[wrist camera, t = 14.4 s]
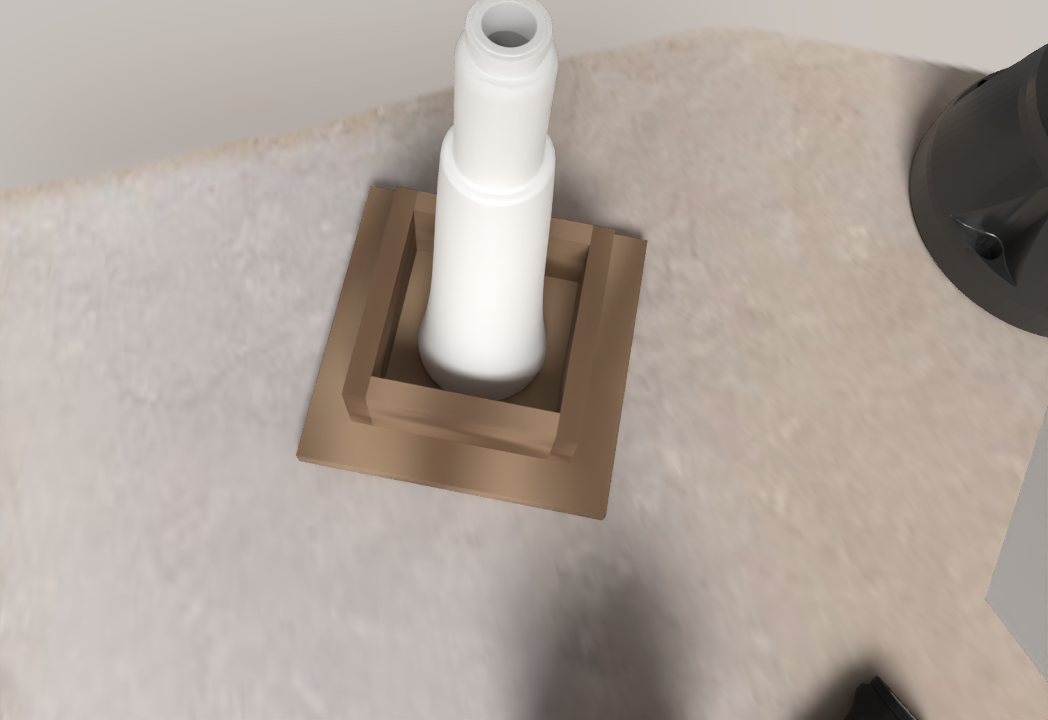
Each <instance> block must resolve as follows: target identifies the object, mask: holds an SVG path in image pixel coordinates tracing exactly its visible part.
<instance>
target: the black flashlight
mask: <svg viewBox="0 0 1048 720" xmlns="http://www.w3.org/2000/svg"><path fill="white" fill-rule="evenodd" d="M871 683H872V685H871V684H864V683H861V685H860V686H859V687H858V688H857V690H856V693H855V699H854V703H853V707H852V709H851V711H850V713H849V714H848V715H847V716H846V718H845V719H844V720H917V719H916V717H915V716H914V715H913V714H912V713H911V712H910V711H909V710H908V709H907V708H906V706H905V705H904V704H903V703H902V702H901V701H900V700H899V699H898V697H897V696H896V695H895V694H894V693H893V692H892V691H891V690H890V689H889V687H888V686H887V685H886V684H885V683H884V682H883V681H882V680H881V678H880V677H878V676H876V677H875V678H874V679H873V680H872V681H871ZM882 698H883V699H882ZM885 702H886V703H885ZM889 707H890V708H889ZM894 713H895V714H894Z"/></svg>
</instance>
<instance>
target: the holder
mask: <svg viewBox="0 0 1048 720" xmlns="http://www.w3.org/2000/svg"><path fill="white" fill-rule="evenodd" d="M436 199H437V194H433V193H428V192H422V191H417V190H412V189H407V188H402V187H396V191H394V190H389V189H384V188H379V187H374V186H371V187H370V191H369V194H368V198H367V201H366V205H365V209H364V212H363V216H362V219H361V223H360V227H359V230H358V234H357V238H356V241H355V245H354V248H353V252H352V256H351V259H350V263H349V266H348V270H347V274H346V277H345V281H344V284H343V288H342V292H341V295H340V299H339V302H338V306H337V310H336V313H335V317H334V320H333V324H332V328H331V331H330V335H329V338H328V342H327V346H326V349H325V353H324V356H323V360H322V364H321V367H320V371H319V374H318V378H317V382H316V385H315V389H314V392H313V396H312V400H311V403H310V407H309V410H308V414H307V418H306V421H305V425H304V428H303V432H302V436H301V439H300V443H299V446H298V450H297V454H296V456H297V458H298V459H299V461H304V462H309V463H314V464H319V465H324V466H329V467H334V468H339V469H344V470H349V471H354V472H360V473H365V474H370V475H375V476H380V477H385V478H390V479H395V480H400V481H405V482H411V483H416V484H421V485H426V486H431V487H436V488H441V489H446V490H451V491H456V492H461V493H467V494H472V495H477V496H482V497H487V498H492V499H497V500H502V501H507V502H512V503H518V504H523V505H528V506H533V507H538V508H543V509H548V510H553V511H558V512H563V513H568V514H574V515H579V516H584V517H589V518H594V519H599V520H603V518H604V517H605V516H606V510H607V503H608V496H609V490H610V483H611V477H612V470H613V464H614V457H615V451H616V444H617V437H618V431H619V424H620V418H621V411H622V405H623V398H624V391H625V385H626V378H627V372H628V365H629V359H630V352H631V346H632V339H633V332H634V326H635V319H636V313H637V306H638V300H639V293H640V286H641V280H642V273H643V267H644V260H645V254H646V247H647V240H642V239H637V238H632V237H627V236H622V235H617V234H615V229H610V228H605V227H600V226H595V225H590V224H585V223H579V222H574V221H569V220H564V219H559V218H554V217H551V221H550V230H549V239H548V247H547V256H546V265H545V275H544V287H543V318H544V324H545V328H546V333H547V352H546V356H545V360H544V362H543V365H542V367H541V369H540V371H539V373H538V374H537V375H536V377H535V378H534V379H533V380H532V381H531V383H530V384H529V385H527V386H526V387H525V388H524V389H522V390H521V391H519V392H518V393H516V394H514V395H512V396H510V397H508V398H505V399H502V400H497V401H495V400H490V399H485V398H479V397H474V396H469V395H464V394H459V393H454V392H449V391H446V390H444V389H443V388H441V387H440V386H439V385H438V384H437V383H436V382H435V381H434V380H433V379H432V378H431V377H430V375H429V374H428V372H427V371H426V369H425V367H424V365H423V363H422V360H421V357H420V353H419V348H418V334H419V328H420V324H421V321H422V319H423V316H424V314H425V311H426V308H427V305H428V300H429V295H430V289H431V280H432V269H433V254H434V235H435V215H436Z"/></svg>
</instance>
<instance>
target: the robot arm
mask: <svg viewBox="0 0 1048 720" xmlns="http://www.w3.org/2000/svg"><path fill="white" fill-rule="evenodd" d="M910 194H911V203H912V209H913V213H914V217H915V220H916V223H917V226H918V229H919V232H920V234H921V236H922V239H923V241H924V243H925V245H926V247H927V249H928V250H929V252H930V254H931V255H932V257H933V258H934V260H935V261H936V263H937V264H938V266H939V267H940V268H941V270H942V271H943V272H944V273H945V275H946V276H947V277H948V278H949V279H950V280H951V281H952V283H953V284H954V285H955V286H956V287H957V288H958V289H959V290H960V291H961V292H963V293H964V294H965V295H966V296H967V297H968V298H969V299H971V300H972V301H973V302H975V303H976V304H977V305H978V306H980V307H981V308H983V309H984V310H986V311H987V312H989V313H990V314H992V315H994V316H995V317H997V318H999V319H1001V320H1003V321H1004V322H1006V323H1008V324H1011V325H1013V326H1015V327H1017V328H1020V329H1022V330H1025V331H1028V332H1030V333H1034V334H1037V335H1040V336H1045V337H1048V44H1046V45H1044V46H1043V47H1041V48H1039V49H1038V50H1036V51H1034V52H1033V53H1031V54H1029V55H1028V56H1026V57H1025V58H1024V59H1022V60H1021V61H1019V62H1017V63H1016V64H1014V65H1012V66H1011V67H1009V68H1006V69H1003V70H1000V71H997V72H995V73H993V74H990V75H988V76H986V77H984V78H983V79H981V80H979V81H977V82H975V83H974V84H972V85H971V86H969V87H968V88H967V89H965V90H964V91H963V92H962V93H960V94H959V95H958V96H957V97H956V98H955V99H954V100H953V101H952V102H951V103H950V104H949V105H948V106H947V107H946V108H945V110H944V111H943V112H942V113H941V114H940V116H939V117H938V118H937V119H936V120H935V122H934V123H933V124H932V125H931V126H930V128H929V129H928V130H927V132H926V133H925V135H924V136H923V138H922V140H921V142H920V144H919V146H918V148H917V151H916V153H915V156H914V160H913V164H912V169H911V178H910ZM985 600H986V601H987V603H988V604H989V605H990V607H991V608H992V609H993V611H994V612H995V613H996V615H997V616H998V617H999V619H1000V620H1001V621H1002V622H1003V624H1004V625H1005V626H1006V628H1007V629H1008V630H1009V632H1010V633H1011V634H1012V636H1013V637H1014V638H1015V640H1016V641H1017V642H1018V644H1019V645H1020V646H1021V648H1022V649H1023V650H1024V652H1025V653H1026V654H1027V656H1028V657H1029V658H1030V660H1031V661H1032V662H1033V664H1034V665H1035V666H1036V668H1037V669H1038V670H1039V672H1040V673H1041V674H1042V675H1043V677H1044V678H1045V679H1046V681H1047V682H1048V407H1047V411H1046V414H1045V417H1044V420H1043V423H1042V426H1041V429H1040V432H1039V435H1038V438H1037V441H1036V444H1035V447H1034V450H1033V454H1032V457H1031V460H1030V463H1029V466H1028V469H1027V472H1026V475H1025V478H1024V481H1023V484H1022V487H1021V490H1020V493H1019V496H1018V500H1017V503H1016V506H1015V509H1014V512H1013V515H1012V518H1011V521H1010V524H1009V527H1008V530H1007V533H1006V536H1005V539H1004V543H1003V546H1002V549H1001V552H1000V555H999V558H998V561H997V564H996V567H995V570H994V573H993V576H992V579H991V582H990V585H989V589H988V592H987V595H986V598H985Z"/></svg>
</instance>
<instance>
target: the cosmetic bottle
mask: <svg viewBox="0 0 1048 720" xmlns="http://www.w3.org/2000/svg"><path fill="white" fill-rule="evenodd" d="M552 33H553V24H552V20H551V17H550V15H549V13H548V11H547V10H546V9H545V7H544V6H543V5H542V4H541V3H540V2H539V1H537V0H477V1H476V2H475V3H474V4H473V5H472V7H471V8H470V10H469V11H468V13H467V16H466V20H465V29H464V31H463V32H462V33H461V35H460V37H459V39H458V41H457V44H456V47H455V52H454V124H453V125H452V126H451V127H450V129H449V130H448V132H447V133H446V135H445V137H444V140H443V142H442V146H441V153H440V163H439V174H438V184H437V199H436V215H435V235H434V254H433V269H432V280H431V289H430V295H429V300H428V305H427V308H426V311H425V314H424V316H423V319H422V321H421V324H420V328H419V334H418V348H419V353H420V357H421V360H422V363H423V365H424V367H425V369H426V371H427V372H428V374H429V375H430V377H431V378H432V379H433V380H434V381H435V382H436V383H437V384H438V385H439V386H440V387H441V388H443V389H444V390H446V391H449V392H454V393H459V394H464V395H469V396H474V397H479V398H485V399H490V400H495V401H497V400H502V399H505V398H508V397H510V396H512V395H514V394H516V393H518V392H519V391H521V390H522V389H524V388H525V387H526V386H527V385H529V384H530V383H531V381H532V380H533V379H534V378H535V377H536V375H537V374H538V373H539V371H540V369H541V367H542V365H543V362H544V360H545V356H546V352H547V333H546V328H545V324H544V318H543V287H544V275H545V265H546V256H547V247H548V239H549V230H550V221H551V211H552V201H553V190H554V177H555V163H556V157H555V149H554V145H553V143H552V140H551V138H550V136H549V134H548V133H547V131H548V125H549V119H550V113H551V107H552V101H553V95H554V89H555V83H556V77H557V71H558V52H557V48H556V45H555V42H554V40H553V38H552Z"/></svg>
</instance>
